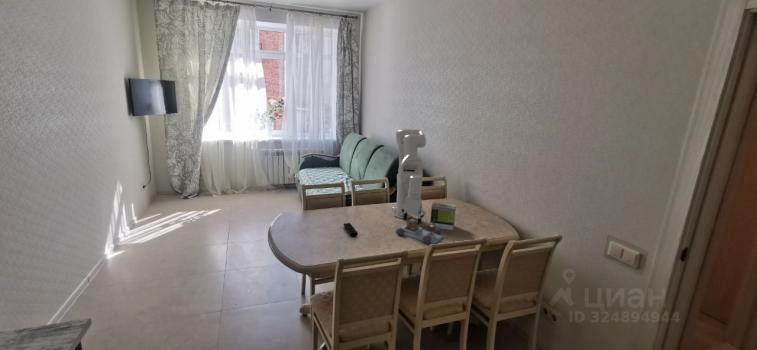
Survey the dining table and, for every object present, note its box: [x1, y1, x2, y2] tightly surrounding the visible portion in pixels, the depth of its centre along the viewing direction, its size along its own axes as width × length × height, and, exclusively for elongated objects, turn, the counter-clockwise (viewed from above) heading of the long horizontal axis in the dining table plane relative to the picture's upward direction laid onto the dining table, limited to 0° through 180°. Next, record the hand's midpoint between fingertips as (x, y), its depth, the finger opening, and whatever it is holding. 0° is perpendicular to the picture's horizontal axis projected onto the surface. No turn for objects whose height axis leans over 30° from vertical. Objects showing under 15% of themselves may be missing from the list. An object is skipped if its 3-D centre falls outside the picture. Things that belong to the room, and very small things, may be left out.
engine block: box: [406, 219, 419, 232], centre depth 218 cm, size 5×5×7 cm
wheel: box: [426, 224, 437, 234], centre depth 211 cm, size 5×5×5 cm
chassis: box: [394, 224, 443, 245], centre depth 216 cm, size 26×16×4 cm, turn 56°
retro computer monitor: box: [429, 201, 457, 231], centre depth 230 cm, size 15×10×15 cm
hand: (412, 221), depth 218 cm, fingers open, 9 cm apart
